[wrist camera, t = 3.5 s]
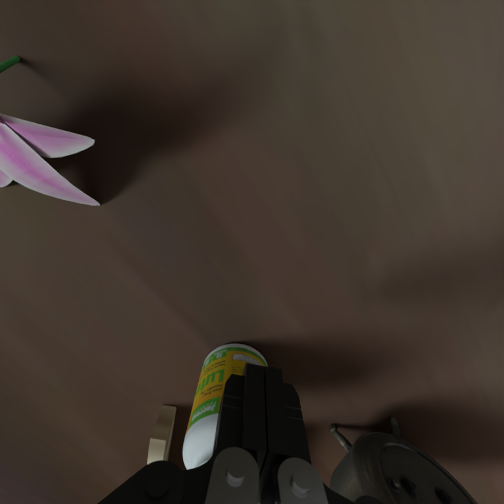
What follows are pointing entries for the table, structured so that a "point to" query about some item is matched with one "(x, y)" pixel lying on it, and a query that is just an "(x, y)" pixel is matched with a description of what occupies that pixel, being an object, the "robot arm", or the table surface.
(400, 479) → the alarm clock
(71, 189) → the lily
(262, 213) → the table surface
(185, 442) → the supplement bottle
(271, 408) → the robot arm
